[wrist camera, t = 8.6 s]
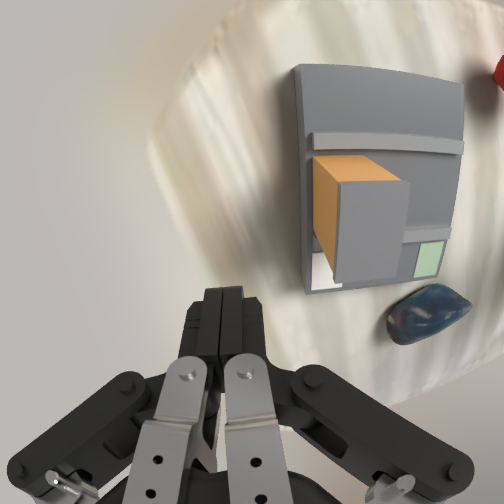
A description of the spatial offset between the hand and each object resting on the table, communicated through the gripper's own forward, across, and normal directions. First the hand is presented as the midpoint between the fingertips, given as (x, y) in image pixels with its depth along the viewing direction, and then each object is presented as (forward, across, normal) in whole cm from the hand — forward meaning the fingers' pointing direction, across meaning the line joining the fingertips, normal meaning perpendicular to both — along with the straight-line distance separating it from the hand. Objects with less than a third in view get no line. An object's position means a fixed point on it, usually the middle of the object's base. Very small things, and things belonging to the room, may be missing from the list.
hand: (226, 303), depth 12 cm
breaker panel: (+15, -13, 0) cm, 20 cm away
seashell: (+15, -22, +17) cm, 32 cm away
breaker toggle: (+12, -8, 0) cm, 14 cm away
